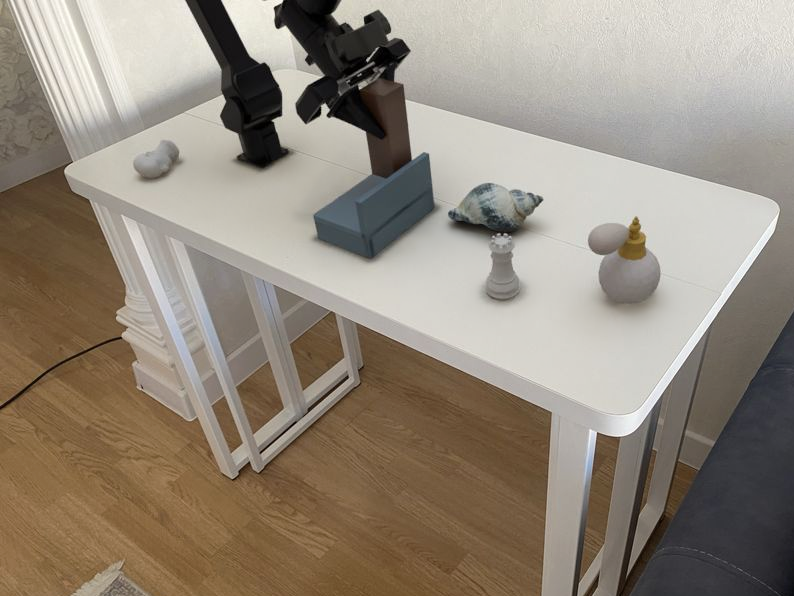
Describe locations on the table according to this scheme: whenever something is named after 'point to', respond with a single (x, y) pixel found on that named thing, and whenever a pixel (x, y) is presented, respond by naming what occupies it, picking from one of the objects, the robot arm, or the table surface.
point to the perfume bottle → (625, 262)
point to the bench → (378, 209)
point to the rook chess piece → (502, 269)
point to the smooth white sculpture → (156, 159)
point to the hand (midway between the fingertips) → (394, 131)
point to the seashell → (496, 207)
